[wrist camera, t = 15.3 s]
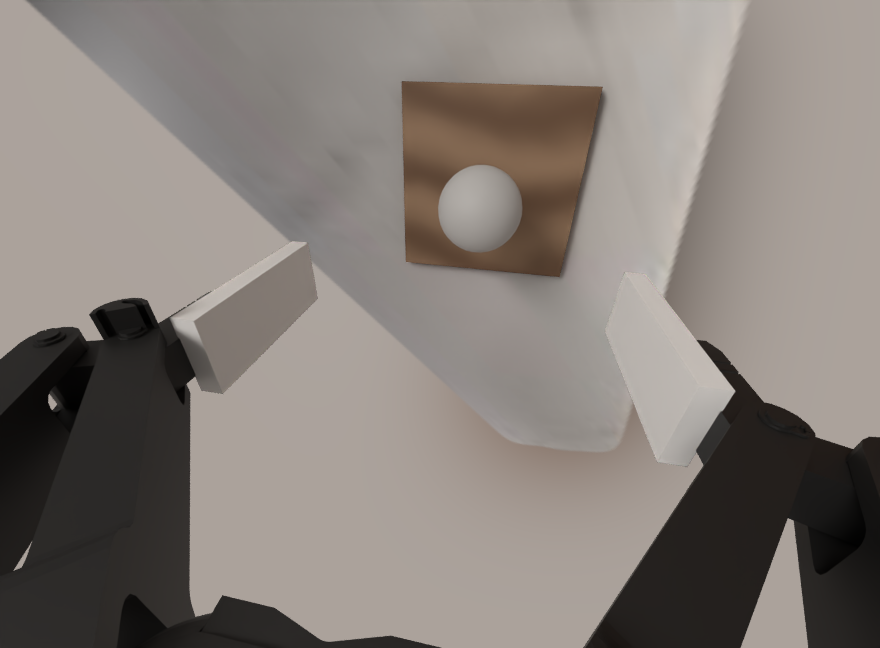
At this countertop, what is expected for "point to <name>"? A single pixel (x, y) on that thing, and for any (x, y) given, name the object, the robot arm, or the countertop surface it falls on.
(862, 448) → the robot arm
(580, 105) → the plate
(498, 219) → the lightbulb
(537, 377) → the countertop surface
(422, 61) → the countertop surface
